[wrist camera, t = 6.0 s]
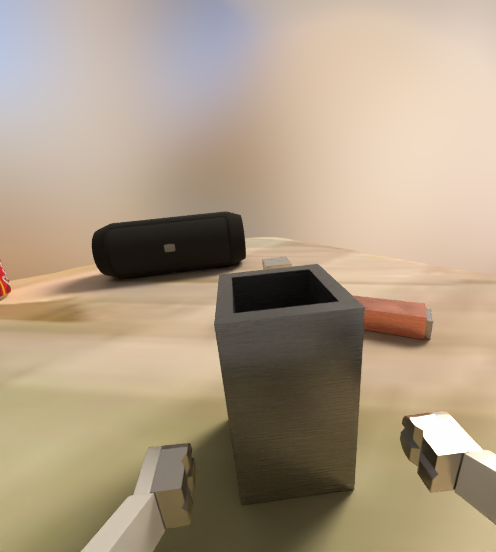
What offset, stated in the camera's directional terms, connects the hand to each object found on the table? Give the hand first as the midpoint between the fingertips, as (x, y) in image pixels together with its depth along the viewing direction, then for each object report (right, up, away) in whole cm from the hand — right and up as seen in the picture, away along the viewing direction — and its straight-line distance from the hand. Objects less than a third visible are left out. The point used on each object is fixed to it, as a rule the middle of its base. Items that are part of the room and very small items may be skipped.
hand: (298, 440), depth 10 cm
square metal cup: (0, -4, +6) cm, 7 cm away
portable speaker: (-15, +7, +41) cm, 45 cm away
